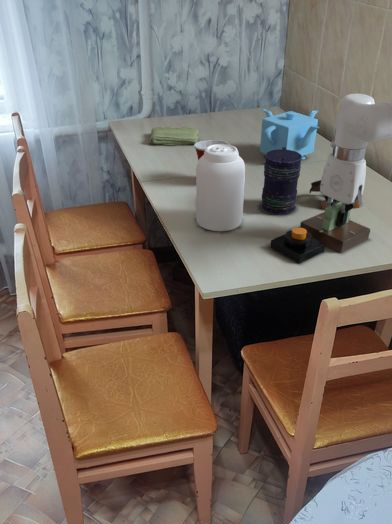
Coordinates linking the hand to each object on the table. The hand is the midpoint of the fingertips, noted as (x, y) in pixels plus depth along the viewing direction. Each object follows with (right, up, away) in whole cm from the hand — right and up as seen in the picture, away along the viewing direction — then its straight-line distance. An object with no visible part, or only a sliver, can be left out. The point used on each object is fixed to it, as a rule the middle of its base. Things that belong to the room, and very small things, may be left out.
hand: (336, 222), depth 140 cm
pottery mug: (+3, +10, +18) cm, 21 cm away
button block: (-11, -8, -3) cm, 14 cm away
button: (-11, -5, -6) cm, 13 cm away
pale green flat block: (0, -1, 0) cm, 1 cm away
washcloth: (-44, +44, +59) cm, 86 cm away
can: (-30, +2, +8) cm, 31 cm away
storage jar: (-13, +8, +15) cm, 21 cm away
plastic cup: (-31, +19, +29) cm, 47 cm away
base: (0, -3, +2) cm, 4 cm away
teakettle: (-4, +33, +47) cm, 58 cm away
